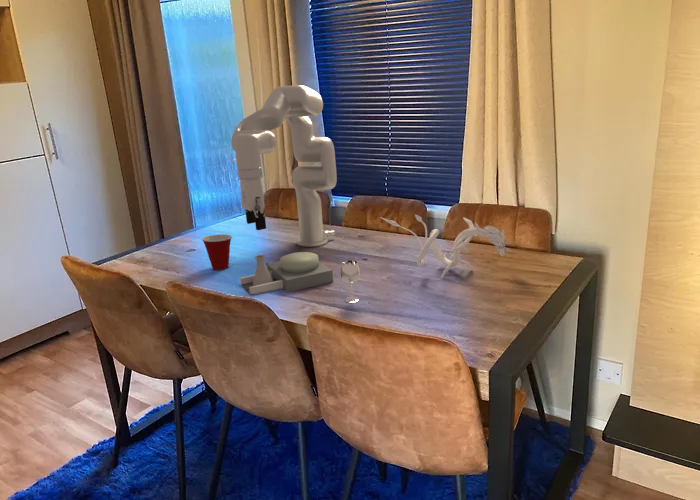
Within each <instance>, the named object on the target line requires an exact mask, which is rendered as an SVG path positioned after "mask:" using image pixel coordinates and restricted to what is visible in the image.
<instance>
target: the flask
mask: <svg viewBox="0 0 700 500" xmlns="http://www.w3.org/2000/svg"><path fill="white" fill-rule="evenodd" d="M265 256H266V255H265V254H257V255H255V257H254V258H255V261H256V269H255V274H254V275H255V277H254V281H253V286H256V285H261V284H265V283H270V282H274V281H273V279H272V277H271V275H270V273H269V271H268V269H267V263H266V261H265V258H266V257H265Z"/></svg>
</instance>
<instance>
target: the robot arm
mask: <svg viewBox="0 0 700 500" xmlns="http://www.w3.org/2000/svg"><path fill="white" fill-rule="evenodd" d="M323 108H324V102H323V99H322V96H321V94H319V92H317V91H315V90H314V89H312V88H310V87H308V86H305V85H304V84H303V85H302V84H301V85H299V84H297V85H282V86H276V87H275V88H273V89H272V91H271V92H270V94H269V96H268V97H267V99H266V101H265V102H264V104H263V106H262V107H261V108H260V109H258V110H257V111H255V112H253V113H252V114H250V115H248V116H246V117H245V118H243V119H242V120H241V121H239V123H238V125H237V126H236V127H235V129H234V131H233V133H232V135H231V141H230V142H231V143H230V144H231V147H232V149H233V151H234V152H235V161H236V168H237V176H238V180H239V181H240V183H239V184H240V185H239V187H240V197H241V198H240V200H241V206H242V208H244V211H245V221H246V224H248V225H250V224H255V230H256V231H261V230H262V231H263V230H266V229H267V225H266V224H267V223H266V213H265V197H264V196H265V195H264V191H263V190H264V189H263V185H262V184H263V183H262V180H261V179H262V178H264V176H263V167H262V159H261V155H265V154H270V153H272V152H274V150H275V149H276V146H277V138H276V135H275V133H274V132H272V131H273V130H276V129H278V128H280V127H281V126H282V125H283V124H284V122H285V120H286V121H287V122H288V125H289V126H290V133H291V140H292V141H291V142H292V151H293V156H294V160H295V161H297V162H300V163H320V164H305V165H299V166H296V167H295V168H294V169H293V171H292V174H291V177H292V178H291V179H292V183H293V187H294V190H295V196H296V197H295V198H296V202H297V215H298V216H297V217H298V225H299V228H298V229H299V236H300V238H298V239H297V241H296V244H297V245H298V246H300V247H306V248H309V247H310V248H311V247H313V248H314V247H319V246H323V245H325V244H327V243H328V241H329V239H328V237H329V236H335V235H336V233H335V230H334V229H333V230H328V229H326V230H325V229H324V222H323V212H322V200H321V197H320V195H319V193H318V192H317V191H318V190H319V191H321V190H325V191H326V190H332V189H334V188H335V187H336V186H337V182H338V181H337V165H336V151H335V146H334V142H333V141H332V139H331V138H329V137H327V136H315V133H314V125H313V122H312V121H311V118H310V117H317V116H319V115H321V114H322V111H323Z"/></svg>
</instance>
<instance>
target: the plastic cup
mask: <svg viewBox="0 0 700 500" xmlns="http://www.w3.org/2000/svg"><path fill="white" fill-rule="evenodd" d="M232 238H233V236H232V235H231V234H224V233H223V234H222V233H221V234H210V235H207V236H203V237H202V238H201V240H202V241H203V244H204V247H205V249H206V252H207V257H208V259H209V262H210V264H211V268H212V269H213V270H214V271H223V270H226V269H228V268H229V265H230V251H231V241H232Z"/></svg>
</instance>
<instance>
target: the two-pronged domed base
mask: <svg viewBox="0 0 700 500" xmlns="http://www.w3.org/2000/svg"><path fill="white" fill-rule="evenodd" d="M319 259H320V258H319V255H318V254H317V253H314V252H308V251H305V252H304V251H299V252H293V253H289V254H285V255H283V256H281V257H280V258H279V260H277V261H273V262H269V263H266V267H267V269H268V271H269V273H270V275H271V277H272V279H273V281H274V282H270V283H265V284H261V285H256V286H253V281H254V277H255V274H251V275H250V274H249V275H246V276H242V277H239V281H240V286H241V287H242V288H243V289H244V290H245V291H246V292H247V293H248V294H249V295H250V296H254V295H258V294H263V293H267V292H272V291H276V290H281V289H284V290H285V291H286V292H287V293H289V292H294V291H297V290H301V289H302V290H303V289H307V288H311V287H315V286H320V285H324V284H328V283H332V282H334V274H333V269H331V268H330V267H329V266H326V265H325V264H323V263H322V262H321V261H319Z"/></svg>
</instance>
